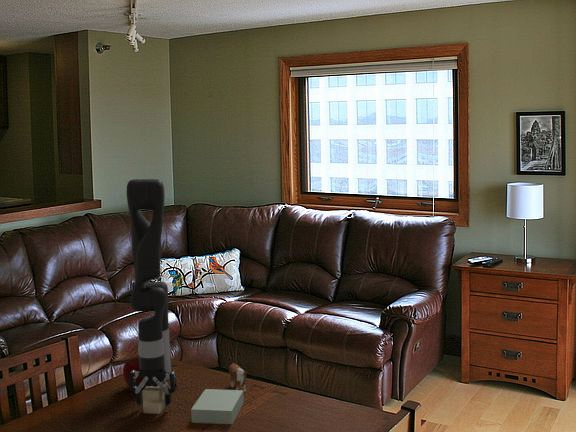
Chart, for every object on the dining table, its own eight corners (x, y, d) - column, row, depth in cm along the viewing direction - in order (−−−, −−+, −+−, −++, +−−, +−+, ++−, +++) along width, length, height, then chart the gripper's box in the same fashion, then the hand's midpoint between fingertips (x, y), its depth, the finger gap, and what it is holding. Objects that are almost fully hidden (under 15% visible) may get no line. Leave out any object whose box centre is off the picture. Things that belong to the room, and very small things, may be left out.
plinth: (205, 401, 229) (205, 389, 228) (243, 402, 227) (243, 390, 226) (191, 422, 213) (191, 409, 212) (232, 424, 211) (231, 410, 211)
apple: (144, 395, 235) (143, 364, 234) (118, 392, 238) (116, 362, 237) (158, 384, 244) (157, 355, 243) (133, 382, 247) (131, 353, 246)
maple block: (149, 406, 226) (147, 384, 225) (164, 407, 225) (163, 385, 224) (143, 413, 221) (142, 390, 220) (159, 413, 220) (158, 391, 219)
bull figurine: (236, 397, 231) (235, 372, 230) (228, 383, 244) (227, 359, 243) (249, 396, 232) (249, 371, 231) (240, 381, 245) (240, 358, 244)
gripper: (178, 349, 223) (180, 400, 225) (133, 348, 225) (135, 399, 227) (170, 357, 216) (172, 410, 218) (124, 356, 218) (126, 408, 220)
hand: (153, 404), depth 223 cm, fingers open, 8 cm apart
